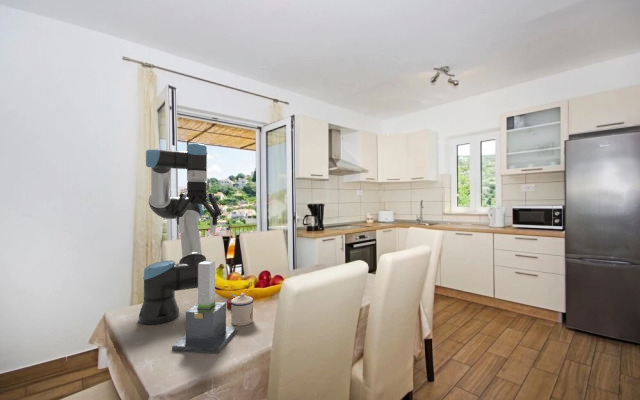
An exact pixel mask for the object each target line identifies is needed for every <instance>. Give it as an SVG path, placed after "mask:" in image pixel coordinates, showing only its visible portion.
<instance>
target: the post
mask: <svg viewBox="0 0 640 400" xmlns="http://www.w3.org/2000/svg"><path fill="white" fill-rule="evenodd" d="M197 298H198V299H197V304H198V309H200V310H211V309H212V308H213V307H214V306H215V302H216V261H211V260H209V261H207V260H206V261H203V262H201V263H199V264H198V288H197Z"/></svg>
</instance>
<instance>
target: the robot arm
mask: <svg viewBox="0 0 640 400" xmlns="http://www.w3.org/2000/svg"><path fill="white" fill-rule="evenodd" d="M207 158H208V151H207V146H206V145H205V144H202V143H189V144H187V147H186V151H181V150H179V151H178V150H167V149H166V150H165V149H158V148H157V149H153V148H152V149H150V148H149V149H147V150H146V151H145V166H146V167H148V168H150V179H151V180H150V181H151V182H150V184H151V185H150V186H151V187H150V190H151V191H150V195H149V197H148V205H149V208H150V209H151V211H152V212H153V213H155V215H157V216H159V217H160V218H162V219H167V220H172V219H175V221H176V224H177V226H178V234H180V243H181V255H182V257H181V258H180V259H179V262H178V263H176V262H175V260H171V259H170V260H162V261H158V262H154V263H151V264H149V265H146V267H144V270H143V277H142V279H143V302H142V306H141V308H140V312H139V314H138V323H139V324H141V325H159V324H163V323H164V324H165V323H167V322H170V321H173V320H175V319H177V318H178V317H179V315H180V308H179V305H178V303H177V301H176V298H175V297H176V295H175V293H176V292H177V291H178V292H179V291H185V290H191V289H198V264H199V263H201V262H203V261H210V260H209V259H207V258H206V256H205V254H203V251H202V245H201V243H202V242H201V237H200V229H199V221H200V219H202V217H203V214H204V213H203V212H204V211H203V207H204V208H205V209H206V211H207V212H208V213H209V214H210V216H211V217H210V218H209V219H210V221H209V223H210V224H209V226H210V228H209V231H210V232H209V233H210V234H215V233H216V225H218V217H219V216H222V215H223V214H222V211H221V209H220V207H219V205H218V203H217V201H216V199H215V194H214V193H213V192H210V193H208V192H207V190H208V183H207V181H208V177H207V176H208V174H207V173H208V170H207V169H208V168H207V166H208V161H207V160H208V159H207ZM172 169H175V170H176V169H179V170H186V180H187V183H186V187H187V188H186V191H187V192H186V193H184V192H181V193H179V196H170V195H169V194H170V184H171V183H170V182H171V173H172V172H171V171H172ZM207 199H209V202H210V204H211V205H210V204H209V202H208V200H207Z"/></svg>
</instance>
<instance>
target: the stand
mask: <svg viewBox="0 0 640 400" xmlns="http://www.w3.org/2000/svg"><path fill="white" fill-rule="evenodd" d="M237 330H238V327H236V326H227V302H222V301H221V302H219V301H217V302H216V301H215V306H214V307H213V308H212V309H211V310H200V309H198V303H196V304H195V305H193V306H192V307H191V308H189V309H188V310H186V311H185V335H183V336H182V337H181V338H179V340H178V341H176V342H175V343H173V345H171V351H172V352H173V351H174V352H189V353H206V354H219V353H220V352H221V351H222V349H223V348H224V347H225V346H226V345H227V343H229V342H230V340H231V339H232V338H233V337H234V336H235V334H236V333H237V332H238V331H237Z"/></svg>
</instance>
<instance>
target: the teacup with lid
mask: <svg viewBox="0 0 640 400" xmlns="http://www.w3.org/2000/svg"><path fill="white" fill-rule="evenodd" d="M230 310H231V311H230V312H231V315H230V316H231V318H230V320H231V324H232V325H233V326H235V327H236V326H238V327H242V326H244V327H245V326H248V325H249V324H252V322H253V321H254V298H253V297H252V296H248V295H246V294H245V293H244V292H241V294H240V296H238V297H236V298H233V299H232V300H231V309H230Z"/></svg>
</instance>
